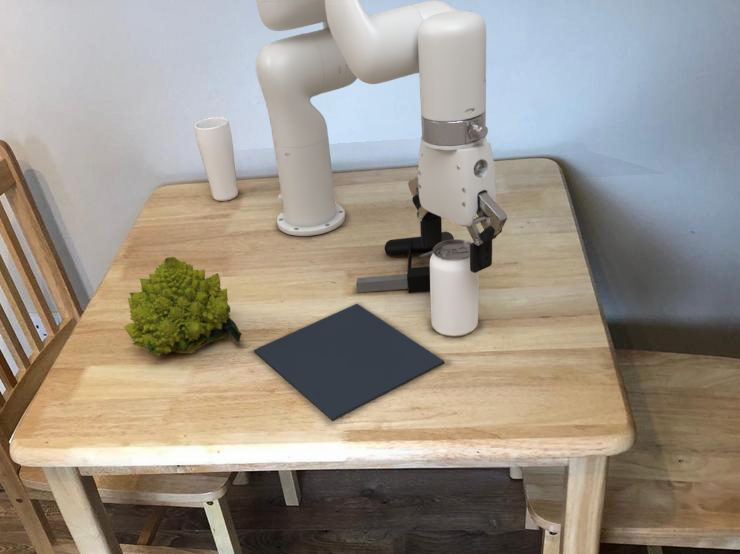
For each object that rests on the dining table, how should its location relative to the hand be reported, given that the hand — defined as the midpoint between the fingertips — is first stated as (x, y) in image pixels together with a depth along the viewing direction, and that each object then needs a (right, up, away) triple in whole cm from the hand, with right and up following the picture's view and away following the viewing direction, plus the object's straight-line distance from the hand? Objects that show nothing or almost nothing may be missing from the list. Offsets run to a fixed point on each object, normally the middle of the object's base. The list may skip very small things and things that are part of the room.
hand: (455, 256), depth 101 cm
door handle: (-4, 0, +19) cm, 19 cm away
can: (+1, -9, +7) cm, 11 cm away
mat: (-14, -13, +4) cm, 20 cm away
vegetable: (-38, -10, +12) cm, 41 cm away
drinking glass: (-37, +21, +54) cm, 68 cm away
